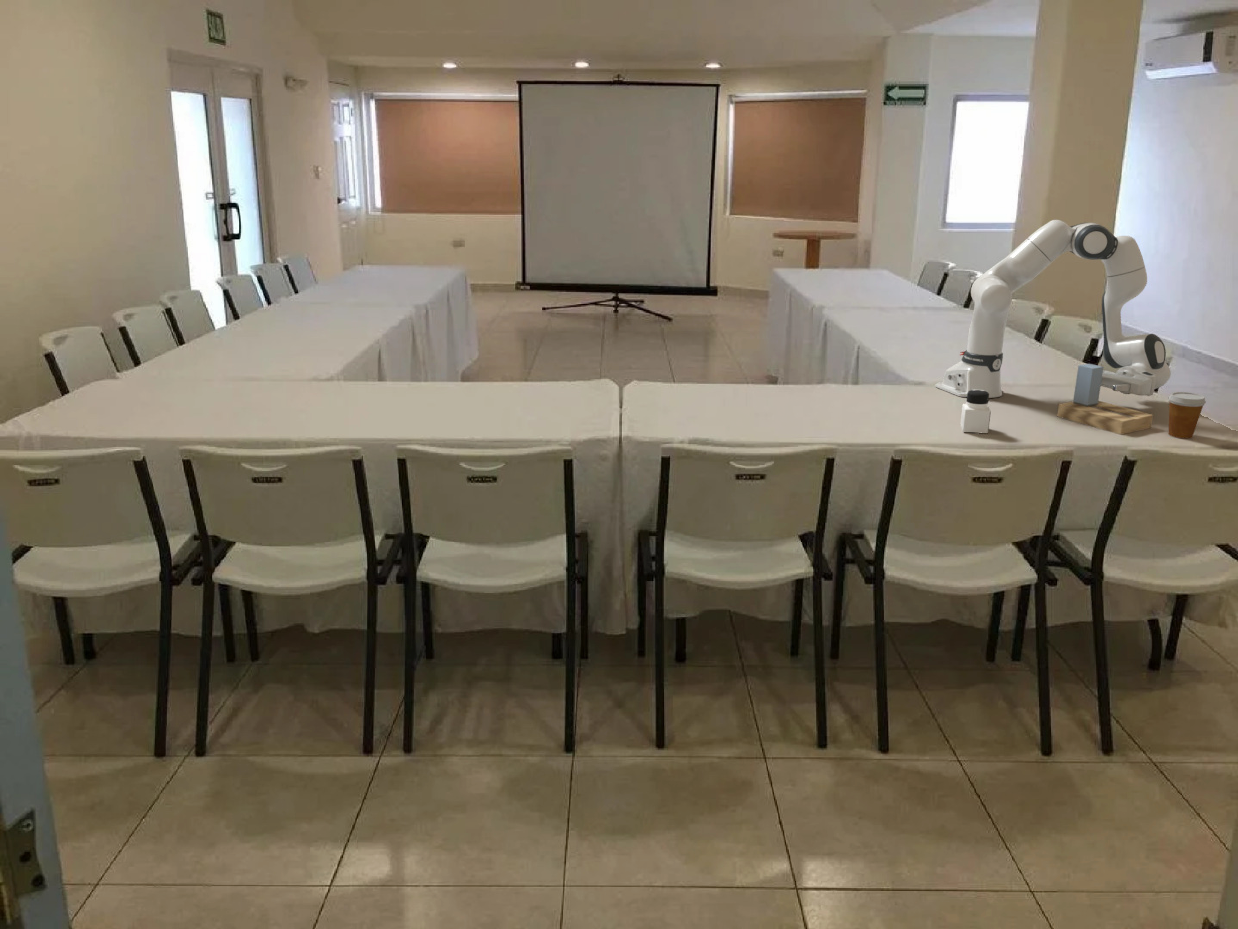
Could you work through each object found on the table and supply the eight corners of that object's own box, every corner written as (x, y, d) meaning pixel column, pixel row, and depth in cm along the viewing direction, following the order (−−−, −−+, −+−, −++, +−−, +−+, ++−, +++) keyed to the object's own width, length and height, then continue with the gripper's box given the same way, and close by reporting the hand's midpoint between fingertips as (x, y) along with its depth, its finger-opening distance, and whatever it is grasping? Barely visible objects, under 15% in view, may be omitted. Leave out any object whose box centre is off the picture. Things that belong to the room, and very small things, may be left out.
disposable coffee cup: (1155, 431, 299) (1162, 391, 295) (1185, 430, 300) (1193, 391, 296) (1174, 440, 290) (1182, 400, 286) (1206, 439, 291) (1214, 399, 287)
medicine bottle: (988, 434, 296) (993, 394, 292) (962, 432, 298) (967, 393, 294) (984, 427, 303) (989, 388, 299) (960, 426, 304) (964, 387, 300)
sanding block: (1072, 403, 314) (1078, 365, 310) (1083, 401, 316) (1089, 363, 312) (1086, 406, 309) (1092, 368, 306) (1097, 404, 312) (1103, 366, 308)
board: (1057, 416, 314) (1059, 403, 313) (1087, 410, 320) (1089, 398, 319) (1120, 434, 296) (1122, 421, 294) (1150, 427, 302) (1153, 414, 301)
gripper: (1102, 363, 328) (1074, 368, 322) (1161, 376, 311) (1132, 381, 305) (1099, 382, 330) (1071, 387, 324) (1157, 396, 313) (1128, 402, 307)
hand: (1101, 384), depth 314 cm, fingers open, 8 cm apart
